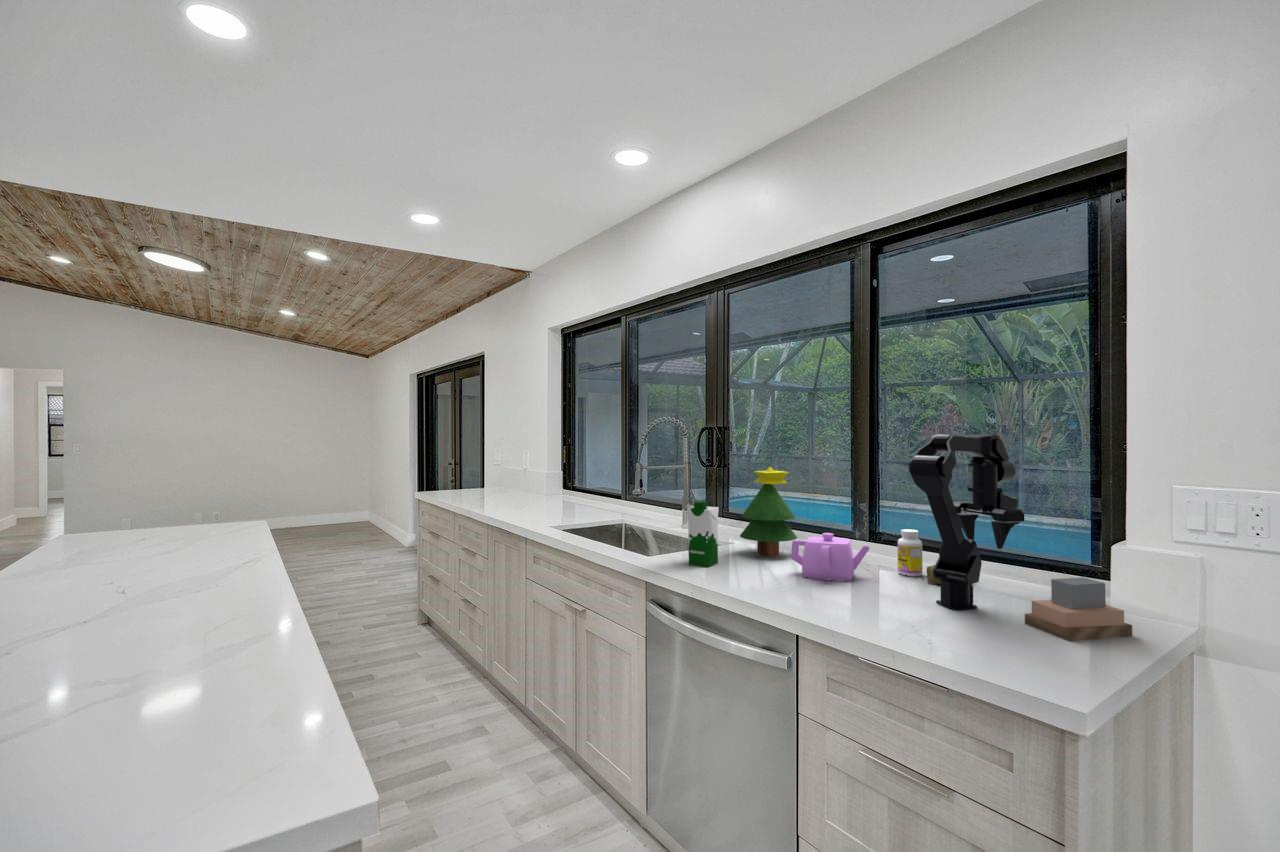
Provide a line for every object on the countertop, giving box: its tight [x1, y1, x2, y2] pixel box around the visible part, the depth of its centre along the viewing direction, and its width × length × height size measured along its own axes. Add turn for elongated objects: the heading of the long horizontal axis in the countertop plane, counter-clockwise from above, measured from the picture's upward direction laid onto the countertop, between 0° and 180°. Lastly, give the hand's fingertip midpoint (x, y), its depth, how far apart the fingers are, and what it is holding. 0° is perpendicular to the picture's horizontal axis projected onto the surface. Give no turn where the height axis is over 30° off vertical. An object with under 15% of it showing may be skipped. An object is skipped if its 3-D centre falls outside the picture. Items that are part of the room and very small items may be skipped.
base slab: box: [1024, 612, 1133, 642], centre depth 126 cm, size 15×11×3 cm
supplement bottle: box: [897, 528, 923, 577], centre depth 175 cm, size 7×7×13 cm
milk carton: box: [686, 500, 720, 568], centre depth 191 cm, size 9×9×20 cm
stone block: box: [926, 564, 966, 586], centre depth 166 cm, size 6×12×5 cm, turn 118°
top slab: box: [1031, 599, 1125, 628], centre depth 126 cm, size 13×9×3 cm
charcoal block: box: [1050, 577, 1107, 609], centre depth 126 cm, size 8×5×5 cm, turn 99°
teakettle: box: [790, 532, 871, 582], centre depth 175 cm, size 17×17×12 cm
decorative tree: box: [739, 466, 798, 558], centre depth 204 cm, size 19×19×30 cm
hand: (985, 545), depth 152 cm, fingers open, 9 cm apart
